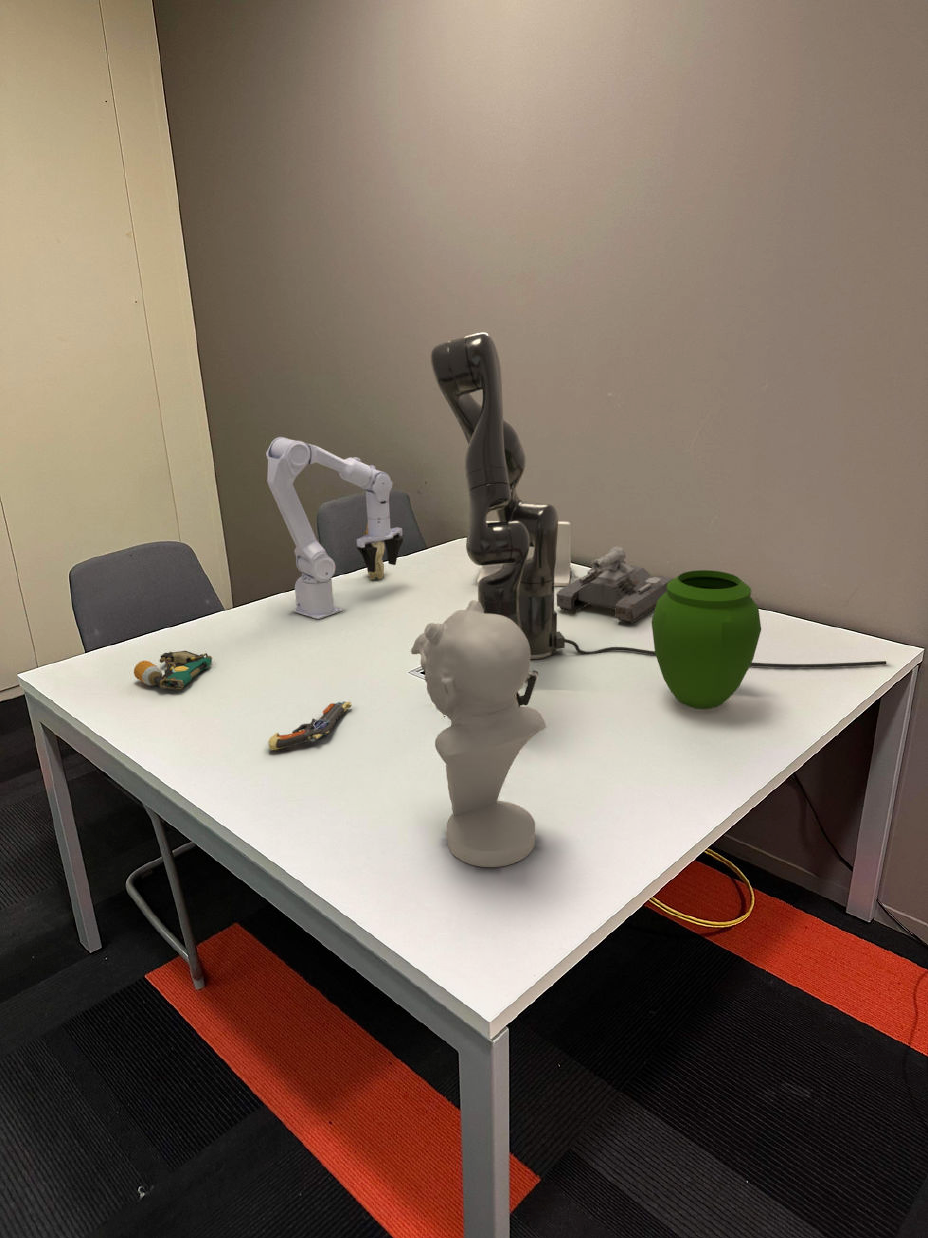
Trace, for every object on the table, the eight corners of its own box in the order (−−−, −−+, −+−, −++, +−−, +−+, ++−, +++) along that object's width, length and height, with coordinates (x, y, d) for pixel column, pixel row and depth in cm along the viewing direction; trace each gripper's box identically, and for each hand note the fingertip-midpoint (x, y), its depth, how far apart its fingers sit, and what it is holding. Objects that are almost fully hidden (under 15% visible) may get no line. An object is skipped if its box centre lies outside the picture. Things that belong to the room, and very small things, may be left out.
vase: (765, 692, 165) (778, 572, 157) (736, 734, 150) (748, 603, 142) (668, 672, 175) (675, 558, 167) (631, 709, 160) (637, 586, 151)
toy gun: (263, 740, 148) (317, 738, 146) (303, 699, 166) (351, 696, 163) (266, 754, 148) (320, 752, 146) (305, 712, 166) (354, 709, 164)
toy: (603, 584, 229) (605, 530, 224) (673, 597, 218) (677, 540, 213) (555, 612, 210) (556, 553, 205) (630, 627, 199) (633, 566, 194)
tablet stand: (569, 585, 229) (570, 524, 223) (476, 584, 232) (475, 523, 226) (570, 566, 246) (571, 508, 240) (484, 564, 249) (483, 507, 243)
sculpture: (387, 572, 244) (383, 521, 239) (386, 580, 238) (382, 528, 232) (366, 573, 244) (363, 522, 239) (365, 581, 237) (361, 529, 232)
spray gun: (177, 659, 191) (231, 671, 185) (120, 684, 176) (176, 698, 171) (176, 641, 190) (230, 653, 184) (118, 665, 175) (174, 678, 169)
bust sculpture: (481, 772, 140) (476, 569, 128) (565, 848, 120) (569, 617, 108) (392, 800, 134) (378, 588, 121) (465, 886, 114) (457, 642, 101)
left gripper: (368, 525, 211) (372, 577, 216) (409, 513, 221) (412, 563, 226) (349, 521, 215) (353, 572, 220) (390, 509, 226) (393, 559, 230)
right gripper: (453, 639, 146) (456, 728, 152) (536, 645, 143) (536, 735, 149) (464, 624, 153) (466, 710, 159) (543, 629, 150) (542, 716, 156)
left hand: (381, 567), depth 223 cm, fingers open, 7 cm apart
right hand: (500, 722), depth 154 cm, fingers closed on canister, 4 cm apart
